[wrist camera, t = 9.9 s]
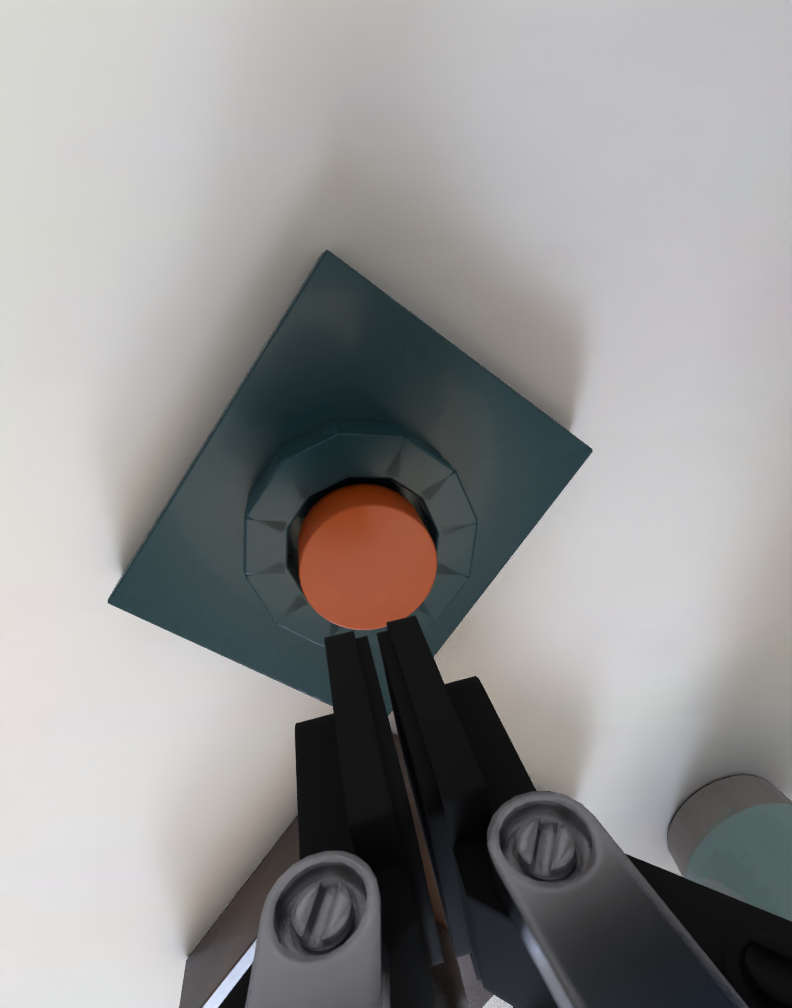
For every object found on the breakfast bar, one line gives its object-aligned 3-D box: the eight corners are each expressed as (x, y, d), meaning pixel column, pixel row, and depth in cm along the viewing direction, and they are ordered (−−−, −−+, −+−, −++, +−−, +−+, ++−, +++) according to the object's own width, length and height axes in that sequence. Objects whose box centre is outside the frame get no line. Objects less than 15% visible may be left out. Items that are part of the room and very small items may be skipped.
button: (344, 458, 16) (350, 477, 15) (448, 523, 17) (464, 548, 16) (273, 563, 17) (271, 592, 15) (378, 618, 18) (386, 651, 16)
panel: (368, 722, 23) (380, 782, 20) (571, 815, 27) (604, 876, 24) (185, 960, 26) (173, 1042, 23) (392, 1015, 29) (403, 1092, 27)
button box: (322, 251, 17) (330, 244, 14) (571, 437, 20) (624, 466, 17) (120, 577, 19) (87, 636, 16) (372, 697, 23) (386, 766, 19)
